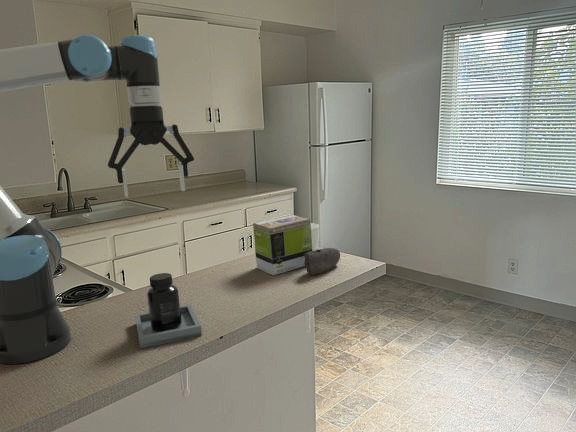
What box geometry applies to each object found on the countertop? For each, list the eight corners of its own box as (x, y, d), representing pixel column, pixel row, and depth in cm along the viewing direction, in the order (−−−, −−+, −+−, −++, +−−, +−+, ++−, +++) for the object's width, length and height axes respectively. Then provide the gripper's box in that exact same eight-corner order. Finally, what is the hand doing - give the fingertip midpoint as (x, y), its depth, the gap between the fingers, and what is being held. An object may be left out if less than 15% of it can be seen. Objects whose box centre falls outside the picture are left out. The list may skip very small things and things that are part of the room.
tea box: (294, 257, 155) (292, 213, 151) (313, 265, 146) (312, 218, 143) (255, 267, 146) (252, 221, 143) (272, 276, 138) (270, 227, 135)
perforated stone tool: (334, 262, 148) (333, 241, 146) (346, 266, 144) (346, 244, 143) (298, 275, 138) (298, 252, 137) (311, 279, 135) (310, 256, 133)
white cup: (307, 260, 151) (305, 230, 149) (291, 255, 157) (290, 226, 155) (324, 254, 156) (324, 225, 154) (308, 249, 162) (307, 221, 160)
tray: (140, 348, 99) (139, 338, 99) (136, 323, 111) (135, 314, 111) (201, 335, 104) (200, 325, 103) (191, 313, 116) (190, 304, 115)
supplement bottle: (185, 319, 110) (180, 270, 108) (176, 333, 104) (170, 281, 101) (157, 319, 111) (151, 271, 108) (146, 333, 104) (139, 282, 102)
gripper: (88, 107, 105) (101, 201, 110) (200, 102, 113) (208, 190, 118) (89, 107, 112) (101, 196, 116) (195, 103, 120) (202, 186, 125)
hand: (155, 193), depth 117 cm, fingers open, 13 cm apart
